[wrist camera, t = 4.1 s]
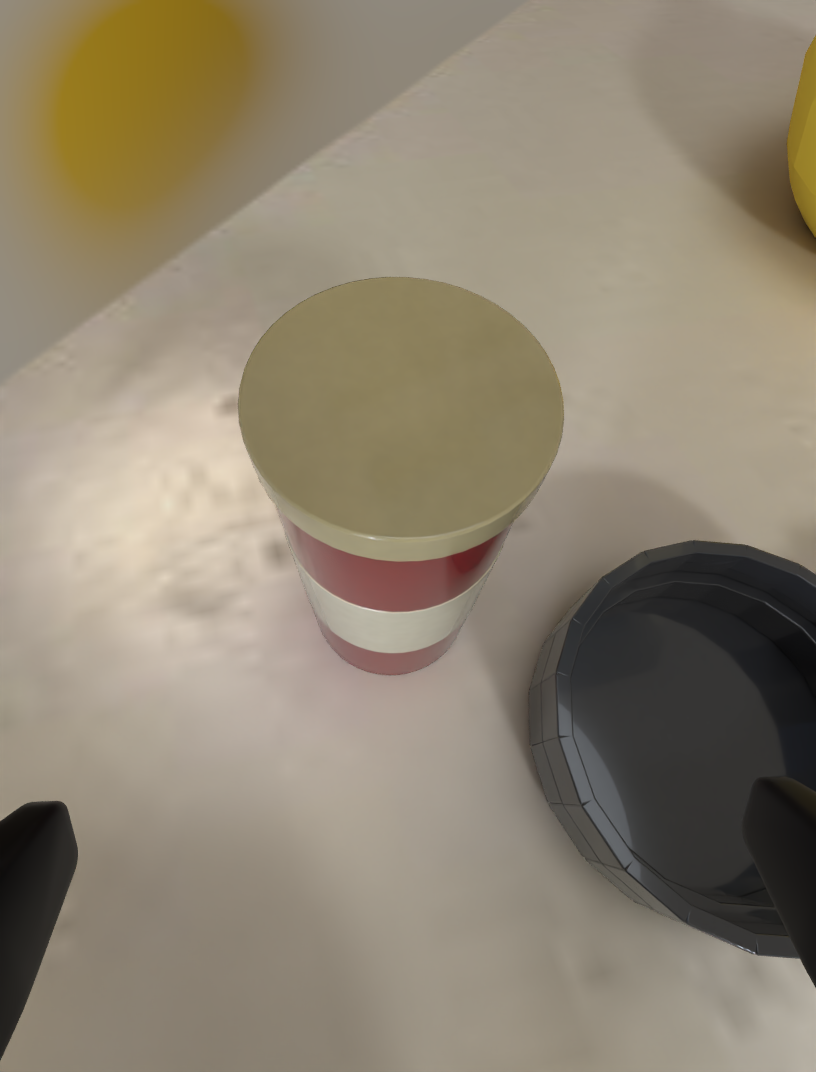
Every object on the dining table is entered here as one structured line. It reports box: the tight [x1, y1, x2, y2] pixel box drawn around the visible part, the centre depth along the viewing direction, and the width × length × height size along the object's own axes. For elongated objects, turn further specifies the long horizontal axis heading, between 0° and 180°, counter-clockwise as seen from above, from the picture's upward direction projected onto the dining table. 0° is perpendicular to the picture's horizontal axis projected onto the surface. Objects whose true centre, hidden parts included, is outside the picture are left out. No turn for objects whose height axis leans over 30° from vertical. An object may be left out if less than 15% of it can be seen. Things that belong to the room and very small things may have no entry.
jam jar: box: [238, 277, 564, 675], centre depth 17 cm, size 6×6×13 cm
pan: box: [529, 540, 816, 959], centre depth 19 cm, size 12×12×4 cm
